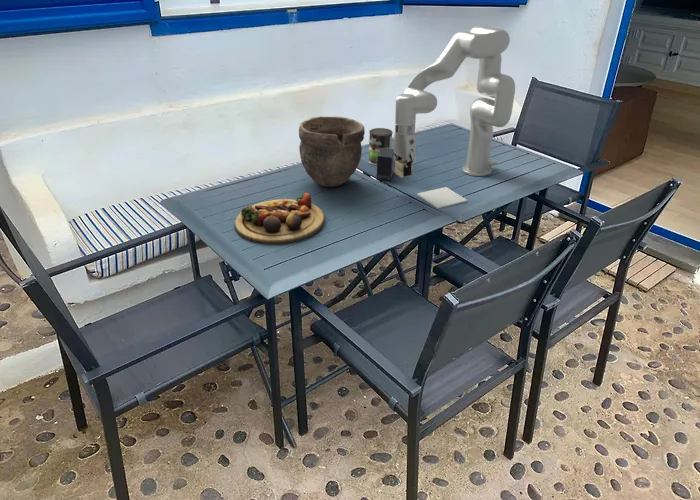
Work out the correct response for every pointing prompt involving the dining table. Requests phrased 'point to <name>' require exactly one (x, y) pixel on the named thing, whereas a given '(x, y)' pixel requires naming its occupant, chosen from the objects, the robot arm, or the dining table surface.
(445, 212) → the dining table surface
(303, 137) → the clay pot
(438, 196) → the off-white board
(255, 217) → the wooden plate with food
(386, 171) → the small box
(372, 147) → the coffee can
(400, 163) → the maple cube
